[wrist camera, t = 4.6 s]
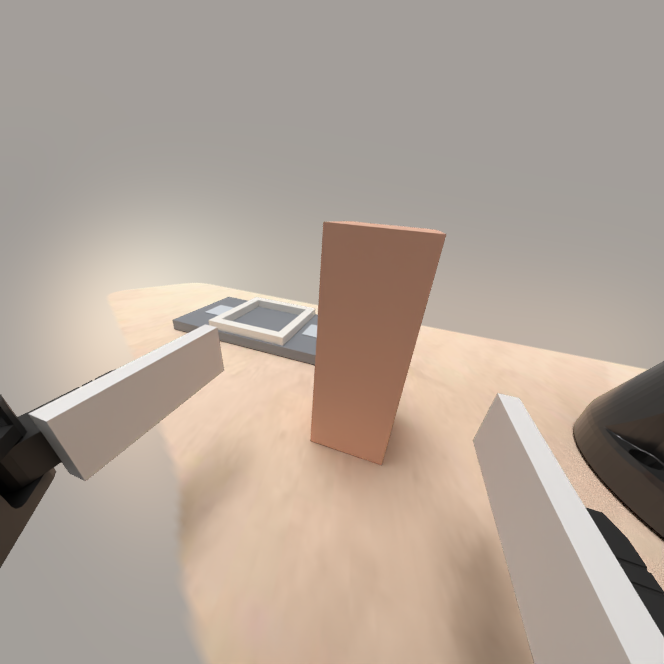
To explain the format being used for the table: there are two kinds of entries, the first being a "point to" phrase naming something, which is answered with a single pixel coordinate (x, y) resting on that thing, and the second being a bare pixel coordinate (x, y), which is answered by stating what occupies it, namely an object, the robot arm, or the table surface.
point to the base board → (259, 326)
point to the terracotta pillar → (368, 329)
